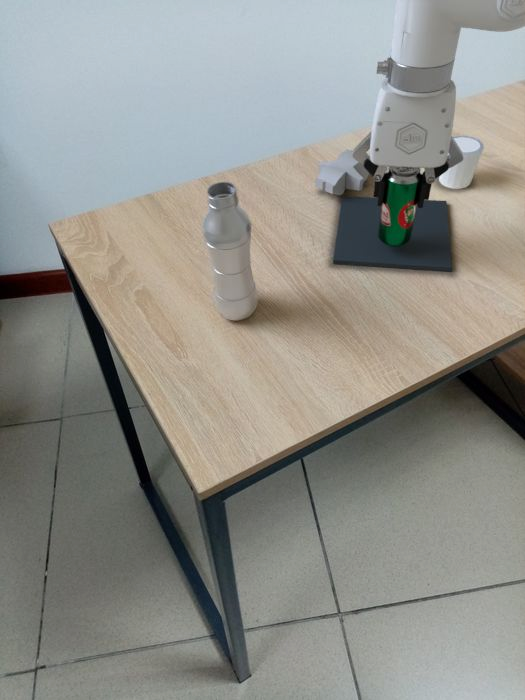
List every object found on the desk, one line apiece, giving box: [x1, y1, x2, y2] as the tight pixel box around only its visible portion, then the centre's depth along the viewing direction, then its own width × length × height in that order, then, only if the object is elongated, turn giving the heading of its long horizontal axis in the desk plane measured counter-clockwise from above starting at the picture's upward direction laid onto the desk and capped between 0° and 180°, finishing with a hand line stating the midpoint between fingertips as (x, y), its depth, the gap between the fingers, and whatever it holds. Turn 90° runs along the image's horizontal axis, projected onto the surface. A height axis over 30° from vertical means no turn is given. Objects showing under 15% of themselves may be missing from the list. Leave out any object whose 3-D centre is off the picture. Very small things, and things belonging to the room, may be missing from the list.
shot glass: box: [438, 135, 485, 190], centre depth 95 cm, size 7×7×7 cm
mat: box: [332, 195, 453, 273], centre depth 88 cm, size 18×18×1 cm
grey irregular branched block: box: [315, 149, 370, 196], centre depth 97 cm, size 10×5×15 cm
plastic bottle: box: [201, 181, 259, 321], centre depth 71 cm, size 6×7×20 cm
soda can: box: [378, 167, 423, 247], centre depth 79 cm, size 5×5×12 cm
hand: (399, 200), depth 78 cm, fingers closed on soda can, 5 cm apart
